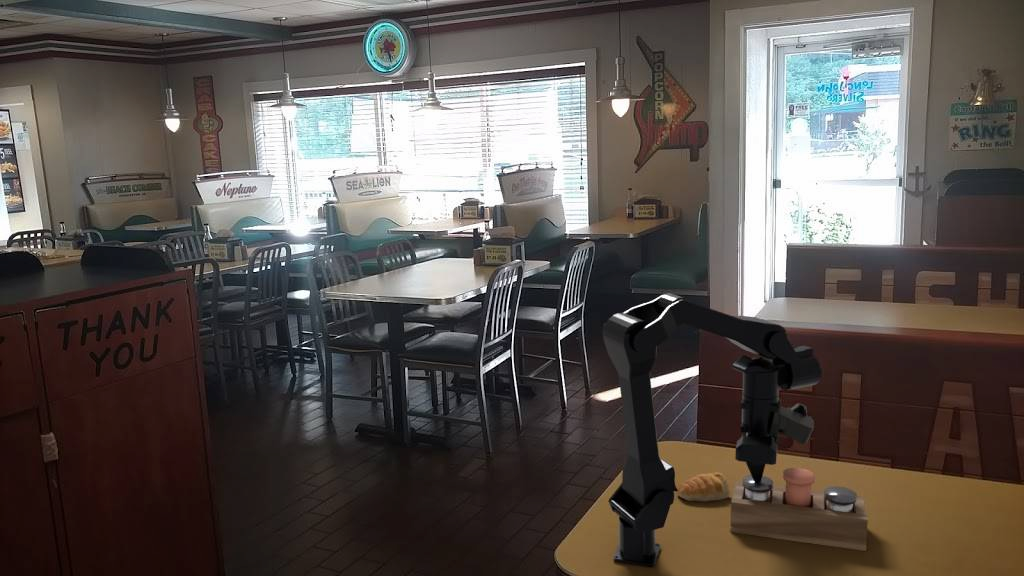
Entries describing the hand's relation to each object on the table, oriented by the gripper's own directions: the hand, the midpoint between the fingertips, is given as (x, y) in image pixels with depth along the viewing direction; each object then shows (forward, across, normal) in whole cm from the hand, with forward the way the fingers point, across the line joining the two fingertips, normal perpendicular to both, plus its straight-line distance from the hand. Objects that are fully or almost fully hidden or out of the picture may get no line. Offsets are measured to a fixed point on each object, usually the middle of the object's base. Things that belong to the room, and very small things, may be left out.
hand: (757, 481), depth 135 cm
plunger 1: (+6, 0, 0) cm, 6 cm away
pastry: (+8, +8, +10) cm, 15 cm away
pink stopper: (+4, 0, -7) cm, 8 cm away
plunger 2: (+6, 0, -13) cm, 14 cm away
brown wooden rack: (+8, 0, -7) cm, 10 cm away
